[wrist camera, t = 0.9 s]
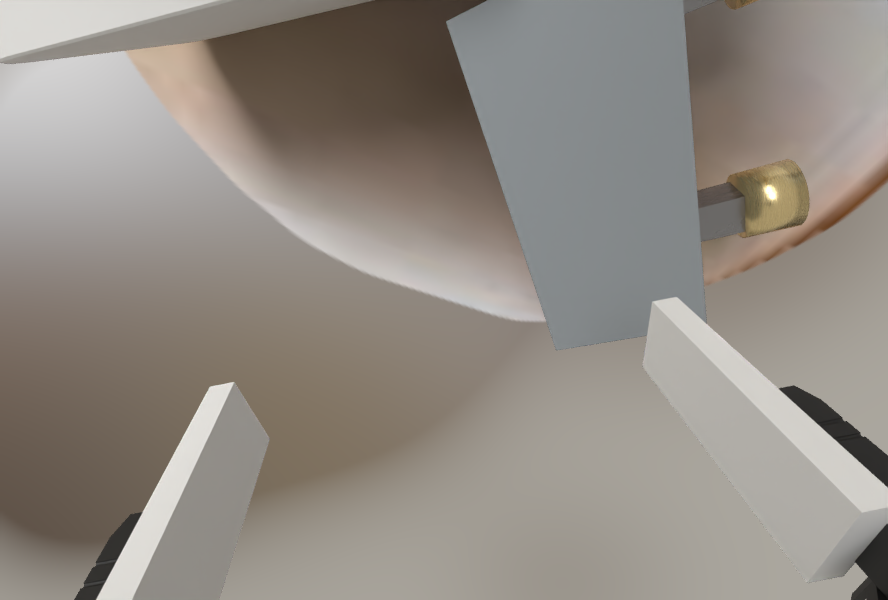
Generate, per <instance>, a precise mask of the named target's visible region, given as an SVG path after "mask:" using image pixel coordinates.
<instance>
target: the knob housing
mask: <svg viewBox="0 0 888 600" xmlns="http://www.w3.org/2000/svg"><path fill="white" fill-rule="evenodd" d="M446 23H447V26H448V29H449V32H450V35H451V38H452V41H453V44H454V47H455V50H456V53H457V56H458V59H459V62H460V65H461V68H462V71H463V74H464V77H465V80H466V83H467V86H468V89H469V92H470V95H471V98H472V101H473V104H474V107H475V110H476V113H477V116H478V119H479V122H480V125H481V128H482V131H483V134H484V137H485V140H486V143H487V146H488V149H489V152H490V155H491V158H492V161H493V164H494V167H495V170H496V173H497V175H498V178H499V181H500V184H501V187H502V190H503V193H504V196H505V199H506V202H507V205H508V208H509V211H510V214H511V217H512V220H513V223H514V226H515V229H516V232H517V235H518V238H519V241H520V244H521V247H522V250H523V253H524V256H525V259H526V262H527V265H528V268H529V271H530V274H531V277H532V280H533V283H534V286H535V289H536V292H537V295H538V298H539V301H540V304H541V307H542V310H543V313H544V316H545V319H546V322H547V325H548V327H549V330H550V333H551V336H552V339H553V342H554V345H555V348H556V350H561V349H568V348H574V347H580V346H587V345H593V344H599V343H605V342H611V341H617V340H623V339H629V338H636V337H642V336H647V333H648V326H649V320H650V313H651V306H652V301H658V300H663V299H668V298H673V297H677V298H678V299H680V300H681V301H682V302H683V303H684V304H685V305H686V306H687V307H688V308H690V309H691V310H692V311H693V312H694V313H695V314H696V315H697V316H698V317H700V318H701V319H702V320H703V321H704V322H705V323H706V324H707V319H706V307H705V292H704V279H703V265H702V251H701V238H700V224H699V210H698V197H697V183H696V170H695V156H694V142H693V129H692V115H691V102H690V88H689V74H688V61H687V47H686V34H685V20H684V6H683V0H487V1H485V2H483V3H481V4H479V5H477V6H475V7H474V8H472V9H470V10H468V11H466V12H464V13H462V14H460V15H458V16H456V17H454V18H452V19H450V20H448V21H446Z"/></svg>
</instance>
